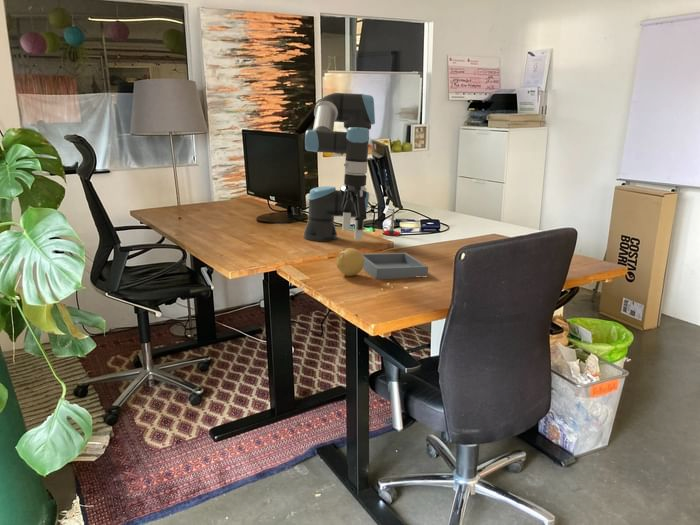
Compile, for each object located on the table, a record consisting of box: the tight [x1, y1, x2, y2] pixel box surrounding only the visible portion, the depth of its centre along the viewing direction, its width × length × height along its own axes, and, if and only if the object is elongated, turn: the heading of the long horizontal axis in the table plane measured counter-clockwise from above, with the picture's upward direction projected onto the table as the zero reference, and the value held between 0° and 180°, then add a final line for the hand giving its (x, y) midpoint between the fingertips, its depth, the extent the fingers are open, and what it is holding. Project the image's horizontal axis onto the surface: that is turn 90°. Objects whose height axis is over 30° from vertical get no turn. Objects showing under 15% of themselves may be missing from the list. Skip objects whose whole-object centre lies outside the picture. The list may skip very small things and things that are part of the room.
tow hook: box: [383, 208, 401, 237], centre depth 268 cm, size 8×13×9 cm
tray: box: [361, 252, 429, 280], centre depth 206 cm, size 20×20×4 cm
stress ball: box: [336, 247, 364, 277], centre depth 196 cm, size 10×10×10 cm
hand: (351, 234), depth 193 cm, fingers open, 13 cm apart
